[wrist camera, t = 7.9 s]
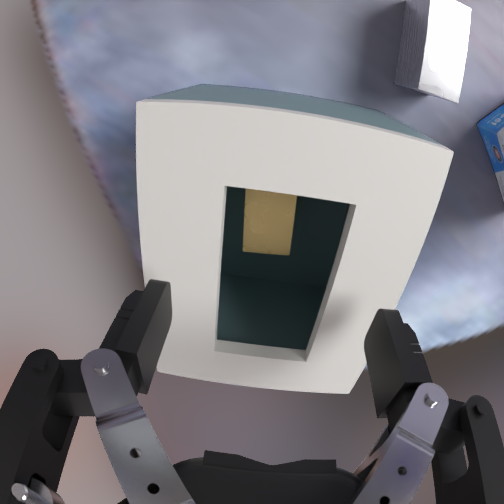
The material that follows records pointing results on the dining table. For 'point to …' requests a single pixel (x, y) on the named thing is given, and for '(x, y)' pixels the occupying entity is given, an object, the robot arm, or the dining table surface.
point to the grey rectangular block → (433, 47)
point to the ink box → (495, 142)
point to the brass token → (268, 222)
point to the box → (303, 236)
